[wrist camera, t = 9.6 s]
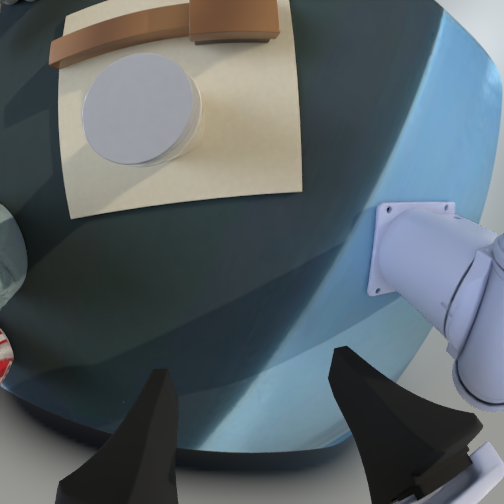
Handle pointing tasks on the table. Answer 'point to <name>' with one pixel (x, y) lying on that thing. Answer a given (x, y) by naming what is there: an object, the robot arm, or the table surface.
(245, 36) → the brush
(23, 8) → the table surface
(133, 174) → the cream square board
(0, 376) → the soda can
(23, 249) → the embossed grey planter pot
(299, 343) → the table surface
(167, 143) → the salt shaker
